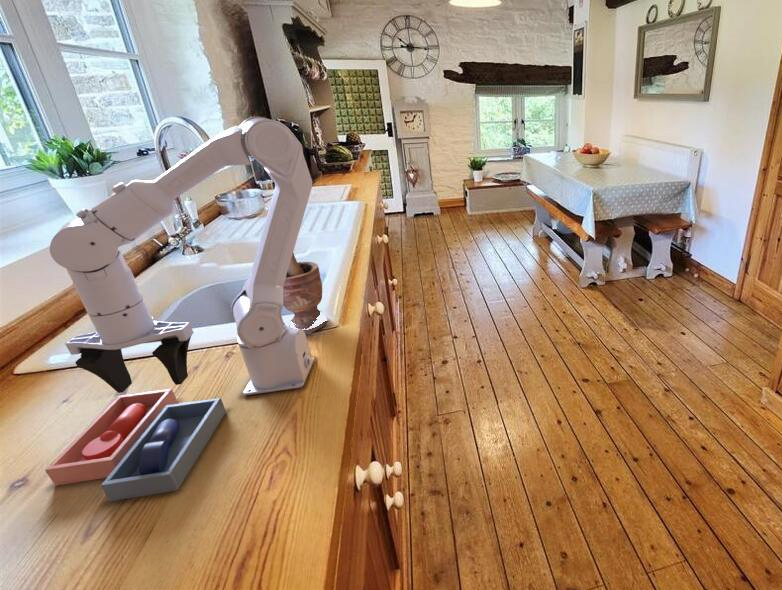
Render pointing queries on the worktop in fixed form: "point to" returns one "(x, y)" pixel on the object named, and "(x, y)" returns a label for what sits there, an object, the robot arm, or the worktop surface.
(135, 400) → the red bin
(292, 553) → the worktop surface
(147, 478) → the blue bin
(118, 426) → the red rubber stamp
